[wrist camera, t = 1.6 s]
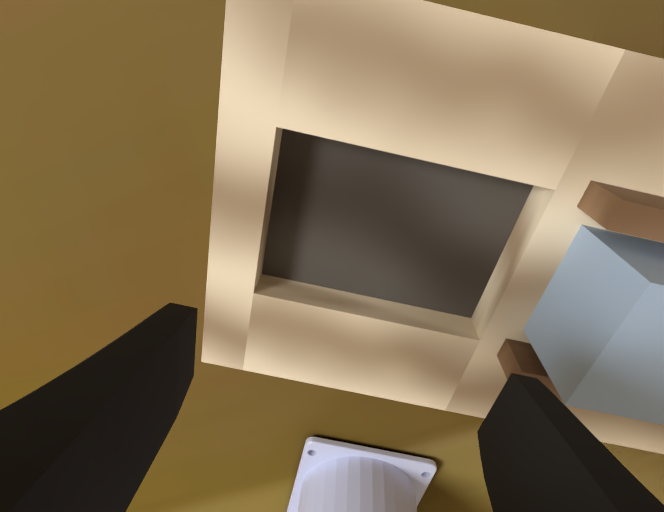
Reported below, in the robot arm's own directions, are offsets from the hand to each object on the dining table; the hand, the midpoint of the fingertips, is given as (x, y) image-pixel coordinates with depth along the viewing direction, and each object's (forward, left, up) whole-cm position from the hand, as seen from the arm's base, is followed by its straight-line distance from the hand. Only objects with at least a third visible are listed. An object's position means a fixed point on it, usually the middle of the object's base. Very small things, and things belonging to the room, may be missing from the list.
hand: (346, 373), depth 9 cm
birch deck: (0, -13, -9) cm, 16 cm away
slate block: (0, -11, -7) cm, 13 cm away
